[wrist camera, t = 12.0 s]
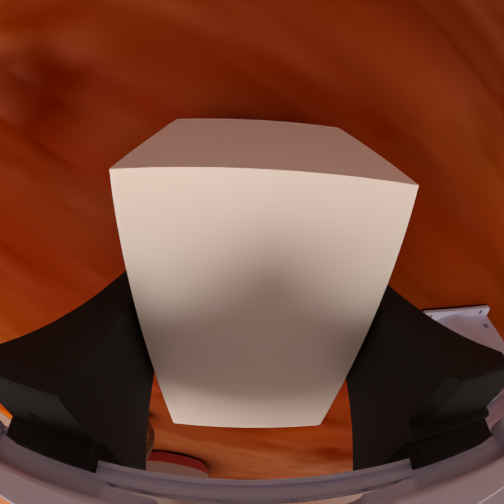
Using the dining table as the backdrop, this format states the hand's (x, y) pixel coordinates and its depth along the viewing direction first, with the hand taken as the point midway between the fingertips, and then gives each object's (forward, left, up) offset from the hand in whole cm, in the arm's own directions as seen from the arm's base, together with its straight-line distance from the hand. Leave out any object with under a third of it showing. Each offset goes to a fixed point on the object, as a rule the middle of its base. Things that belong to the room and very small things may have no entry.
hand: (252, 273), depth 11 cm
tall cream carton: (0, 0, -2) cm, 2 cm away
